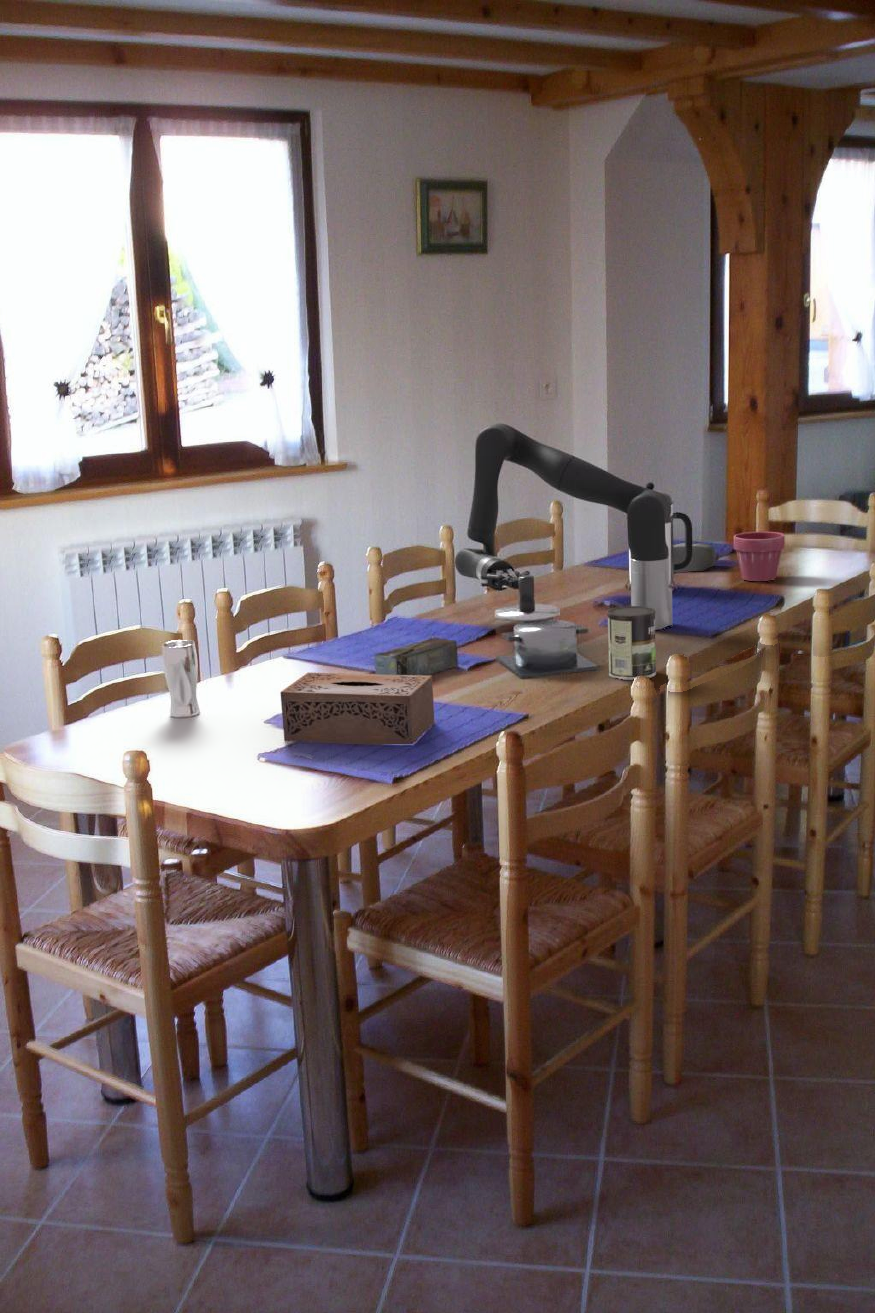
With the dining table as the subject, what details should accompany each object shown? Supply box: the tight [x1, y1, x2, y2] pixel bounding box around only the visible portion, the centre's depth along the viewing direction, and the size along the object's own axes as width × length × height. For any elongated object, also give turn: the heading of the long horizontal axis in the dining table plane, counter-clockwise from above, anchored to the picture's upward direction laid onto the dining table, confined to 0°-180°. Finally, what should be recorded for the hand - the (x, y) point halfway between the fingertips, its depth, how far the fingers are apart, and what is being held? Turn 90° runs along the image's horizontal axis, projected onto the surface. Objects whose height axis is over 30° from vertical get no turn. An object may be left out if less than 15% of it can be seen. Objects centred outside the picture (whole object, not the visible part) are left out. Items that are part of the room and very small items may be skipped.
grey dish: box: [673, 542, 720, 573], centre depth 412 cm, size 18×11×8 cm, turn 81°
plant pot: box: [733, 531, 786, 581], centre depth 390 cm, size 14×14×13 cm
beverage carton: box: [373, 637, 459, 676], centre depth 309 cm, size 8×19×7 cm, turn 134°
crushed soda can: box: [161, 639, 201, 719], centre depth 284 cm, size 7×7×15 cm
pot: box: [495, 619, 599, 679], centre depth 309 cm, size 19×18×9 cm
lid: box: [494, 574, 561, 623], centre depth 318 cm, size 15×15×9 cm
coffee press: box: [623, 481, 693, 590], centre depth 383 cm, size 17×16×30 cm
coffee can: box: [606, 605, 657, 681], centre depth 297 cm, size 10×10×14 cm
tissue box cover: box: [279, 672, 435, 746], centre depth 266 cm, size 26×14×10 cm, turn 74°
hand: (517, 584), depth 324 cm, fingers closed
